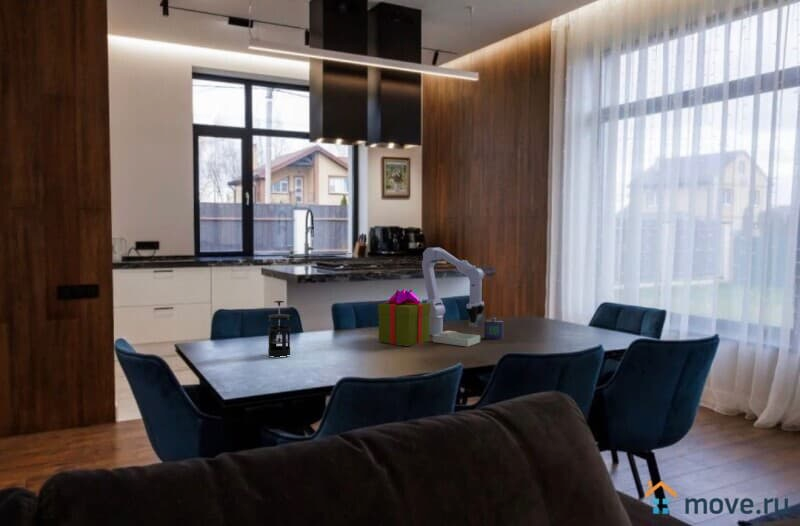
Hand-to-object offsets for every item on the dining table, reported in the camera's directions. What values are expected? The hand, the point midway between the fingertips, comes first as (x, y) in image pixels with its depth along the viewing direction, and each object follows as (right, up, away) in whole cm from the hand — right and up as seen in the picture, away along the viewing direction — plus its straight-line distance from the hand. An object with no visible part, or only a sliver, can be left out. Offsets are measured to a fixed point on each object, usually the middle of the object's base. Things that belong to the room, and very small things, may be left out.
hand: (475, 321), depth 276 cm
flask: (+10, -9, +4) cm, 14 cm away
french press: (-87, -11, -36) cm, 94 cm away
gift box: (-34, -9, -5) cm, 36 cm away
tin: (0, -2, 0) cm, 2 cm away
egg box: (-13, -9, -4) cm, 16 cm away
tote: (-10, -9, -6) cm, 15 cm away
